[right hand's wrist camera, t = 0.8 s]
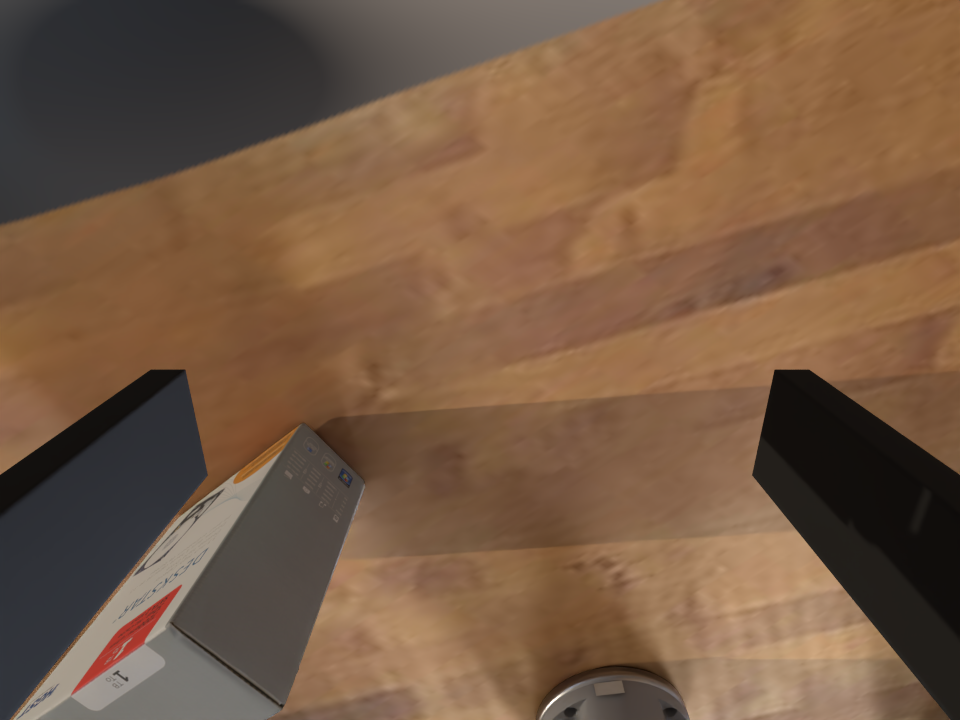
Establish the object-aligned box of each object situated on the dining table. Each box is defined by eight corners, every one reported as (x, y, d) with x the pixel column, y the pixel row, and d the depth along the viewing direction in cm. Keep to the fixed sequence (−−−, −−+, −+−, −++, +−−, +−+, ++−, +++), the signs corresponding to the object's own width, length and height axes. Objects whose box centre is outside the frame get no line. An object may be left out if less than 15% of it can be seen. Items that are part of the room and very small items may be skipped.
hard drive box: (303, 417, 44) (174, 621, 25) (369, 481, 46) (294, 712, 27) (174, 517, 47) (-23, 760, 29) (240, 572, 50) (98, 831, 31)
